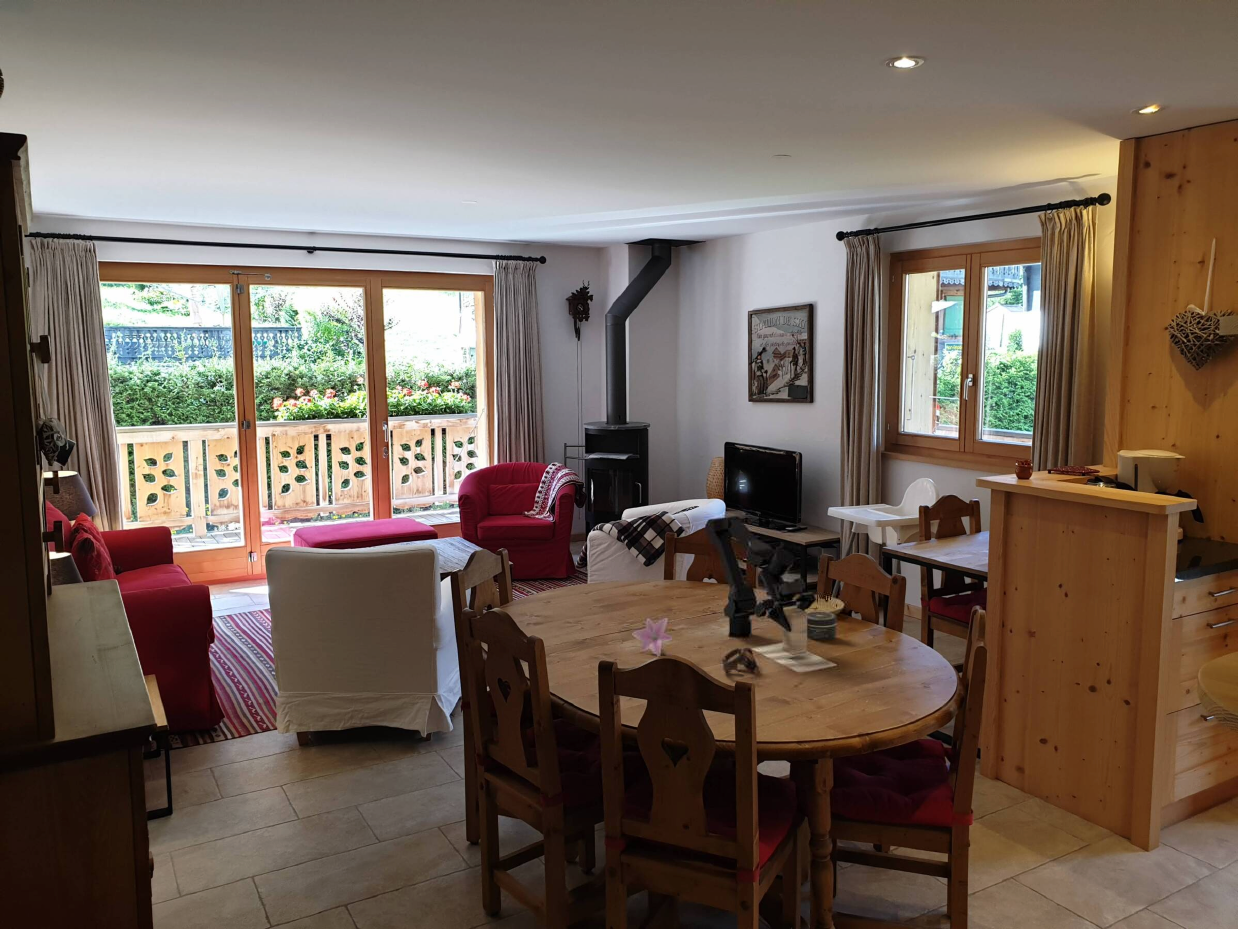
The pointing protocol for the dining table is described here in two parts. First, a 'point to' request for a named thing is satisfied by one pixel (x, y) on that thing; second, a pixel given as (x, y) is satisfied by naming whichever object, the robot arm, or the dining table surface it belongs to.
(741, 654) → the brown looped strap
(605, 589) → the dining table surface
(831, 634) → the jar
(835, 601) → the plant saucer
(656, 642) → the lily
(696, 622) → the dining table surface
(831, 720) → the dining table surface
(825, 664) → the birch board
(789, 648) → the beige tall block
